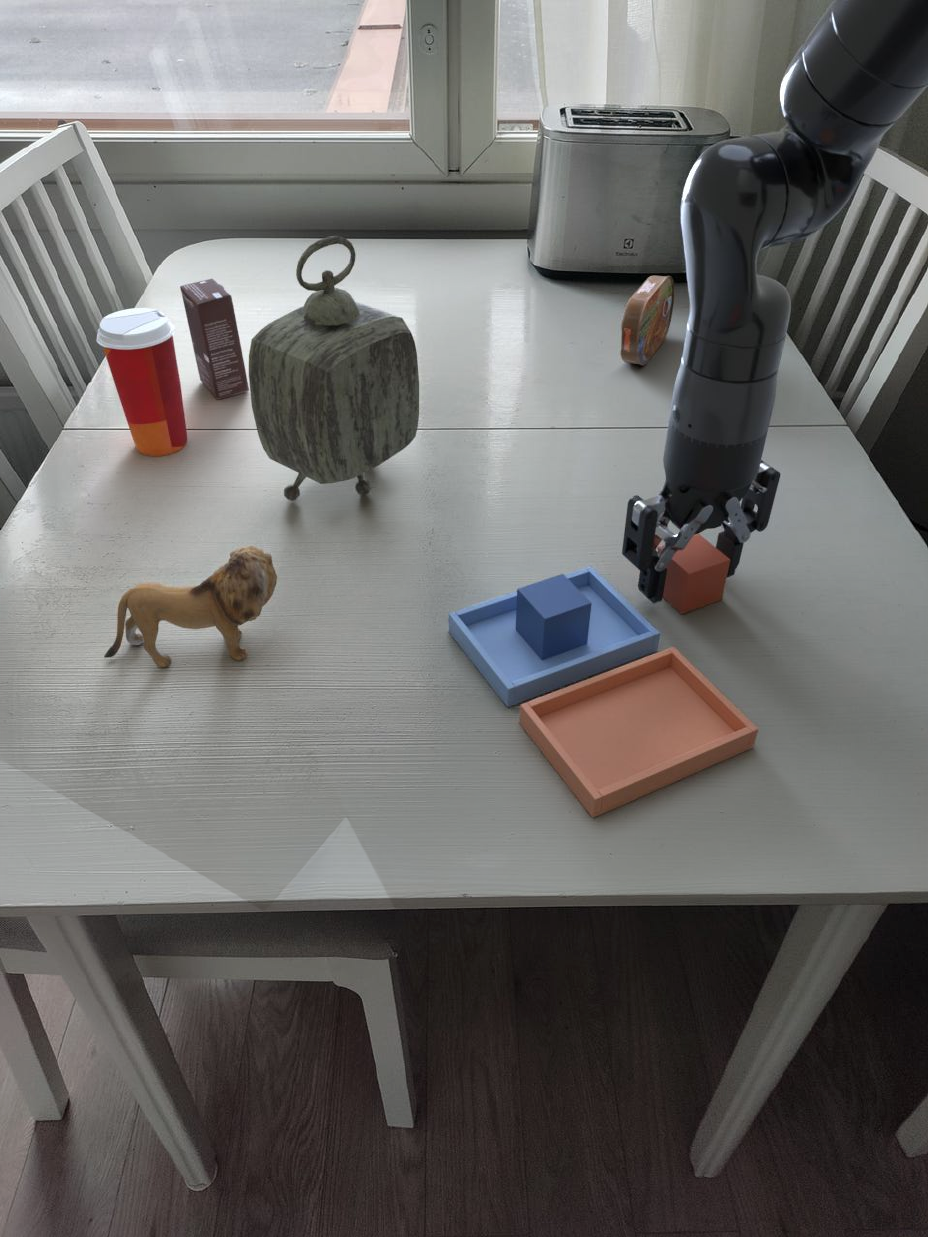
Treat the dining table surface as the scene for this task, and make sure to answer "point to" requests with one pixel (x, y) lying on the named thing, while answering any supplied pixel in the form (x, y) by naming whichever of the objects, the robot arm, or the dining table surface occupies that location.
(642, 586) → the robot arm
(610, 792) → the clay tray
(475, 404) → the dining table surface
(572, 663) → the blue tray
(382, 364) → the tabletop clock
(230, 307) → the box
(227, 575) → the lion figurine
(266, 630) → the dining table surface
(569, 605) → the blue block
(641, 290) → the tin
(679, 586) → the terracotta block
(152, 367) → the paper cup
